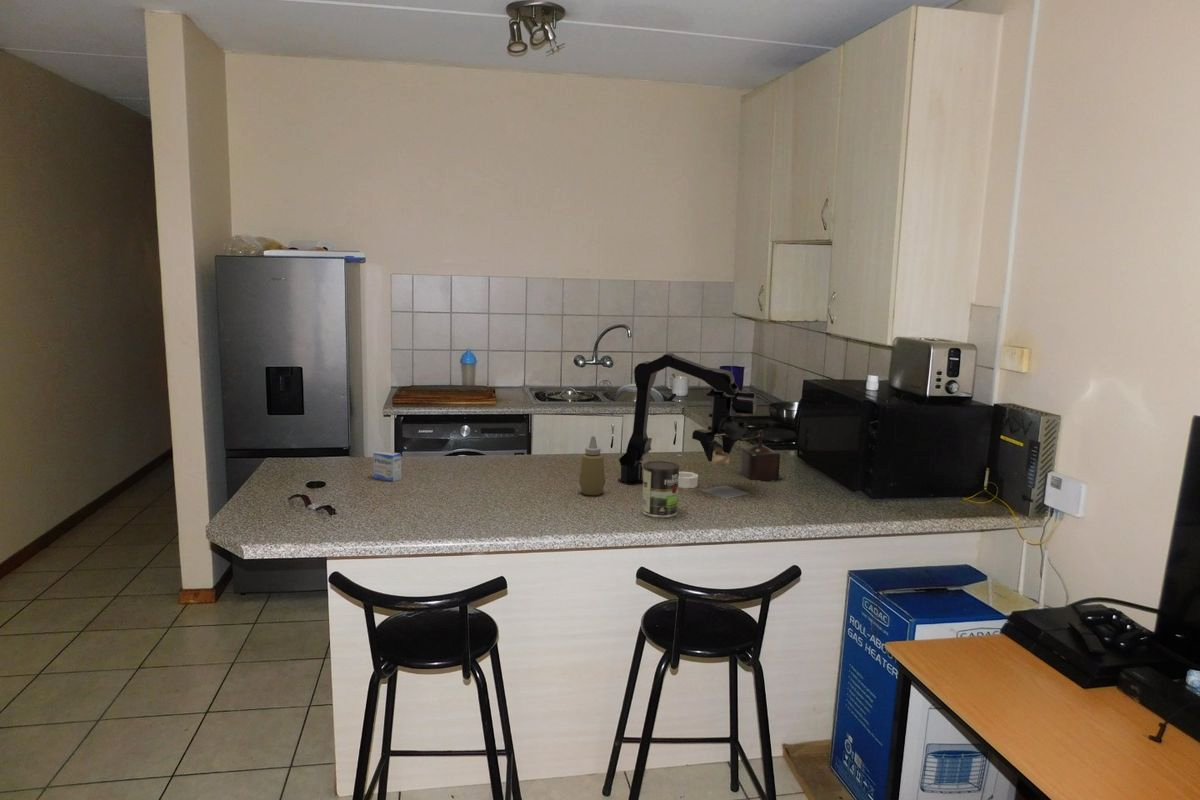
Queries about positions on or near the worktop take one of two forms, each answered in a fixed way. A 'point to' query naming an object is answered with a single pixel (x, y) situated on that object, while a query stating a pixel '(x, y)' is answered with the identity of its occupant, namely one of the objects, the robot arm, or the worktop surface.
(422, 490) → the worktop surface
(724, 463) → the lid
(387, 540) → the worktop surface
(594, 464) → the squeeze bottle
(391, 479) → the medicine box
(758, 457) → the manual coffee grinder
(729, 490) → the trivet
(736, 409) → the robot arm
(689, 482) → the bowl
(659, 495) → the coffee can
